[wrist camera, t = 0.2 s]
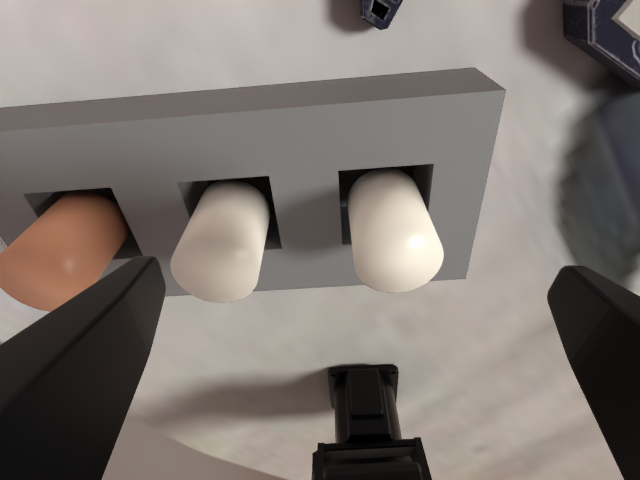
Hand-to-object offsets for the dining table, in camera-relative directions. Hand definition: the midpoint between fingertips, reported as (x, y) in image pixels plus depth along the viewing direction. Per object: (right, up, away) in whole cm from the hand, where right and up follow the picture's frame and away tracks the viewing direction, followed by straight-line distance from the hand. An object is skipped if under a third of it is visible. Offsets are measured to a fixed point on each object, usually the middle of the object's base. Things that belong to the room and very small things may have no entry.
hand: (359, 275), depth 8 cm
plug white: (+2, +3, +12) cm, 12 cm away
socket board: (-5, +4, +15) cm, 16 cm away
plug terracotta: (-13, +2, +12) cm, 18 cm away
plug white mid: (-5, +2, +12) cm, 13 cm away
